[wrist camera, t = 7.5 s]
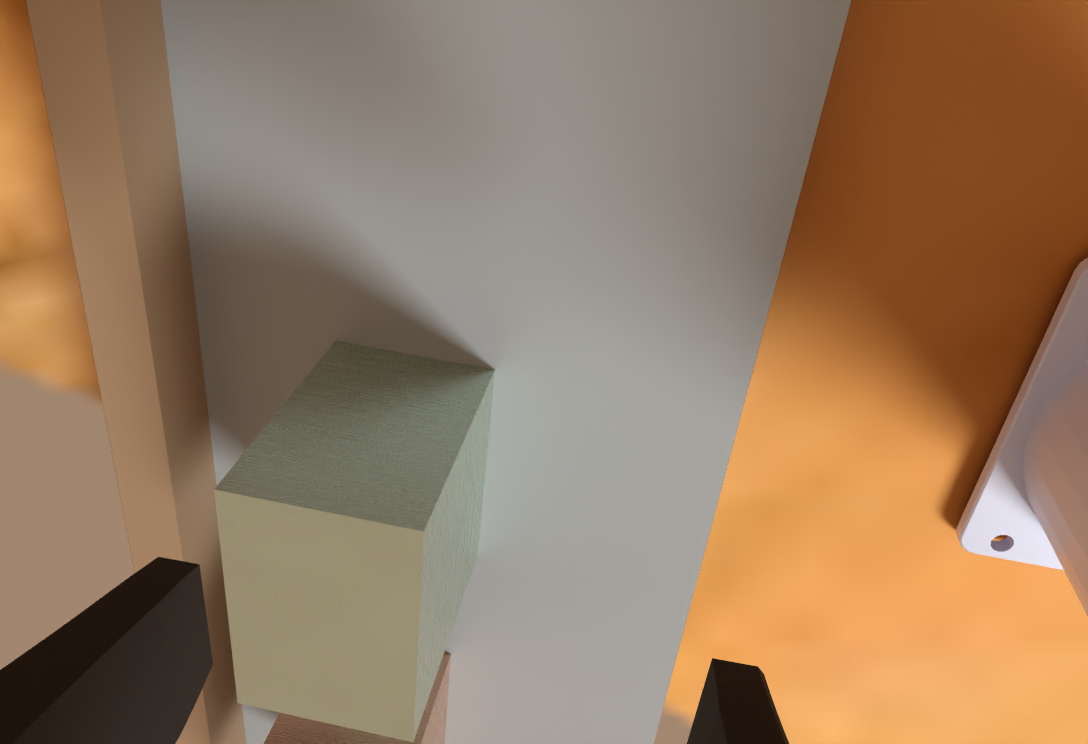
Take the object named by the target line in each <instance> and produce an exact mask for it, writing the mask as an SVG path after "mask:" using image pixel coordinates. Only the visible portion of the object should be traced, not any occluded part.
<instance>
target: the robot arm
mask: <svg viewBox="0 0 1088 744" xmlns="http://www.w3.org/2000/svg"><path fill="white" fill-rule="evenodd" d="M956 534H957V537H958V539H959V542H960V544H961V546H962V547H963V548H964V549H965V550H966V551H969V552H971V553H975V554H980V555H986V556H991V557H996V558H1002V559H1007V560H1012V561H1018V562H1023V563H1028V564H1034V565H1039V566H1044V567H1050V568H1055V569H1060V570H1064V571H1065V573H1066V575H1067V577H1068V579H1069V581H1070V583H1071V585H1072V587H1073V589H1074V591H1075V593H1076V595H1077V596H1078V598H1079V600H1080V602H1081V604H1082V606H1083V608H1084V610H1085V612H1086V614H1087V616H1088V257H1087V258H1086V259H1085V260H1083V261H1082V262H1081V263H1079V265H1078V266H1077V268H1076V269H1075V270H1074V272H1073V274H1072V277H1071V279H1070V281H1069V283H1068V285H1067V288H1066V290H1065V292H1064V294H1063V296H1062V298H1061V301H1060V303H1059V305H1058V307H1057V309H1056V312H1055V314H1054V316H1053V318H1052V320H1051V323H1050V325H1049V327H1048V329H1047V331H1046V333H1045V336H1044V338H1043V340H1042V342H1041V344H1040V347H1039V349H1038V351H1037V353H1036V355H1035V357H1034V360H1033V362H1032V364H1031V366H1030V368H1029V371H1028V373H1027V375H1026V377H1025V379H1024V381H1023V384H1022V386H1021V388H1020V390H1019V392H1018V395H1017V397H1016V399H1015V401H1014V403H1013V405H1012V408H1011V410H1010V412H1009V414H1008V416H1007V419H1006V421H1005V423H1004V425H1003V427H1002V430H1001V432H1000V434H999V436H998V438H997V440H996V443H995V445H994V447H993V449H992V451H991V454H990V456H989V458H988V460H987V462H986V464H985V467H984V469H983V471H982V473H981V475H980V478H979V480H978V482H977V484H976V486H975V488H974V491H973V493H972V495H971V497H970V499H969V502H968V504H967V506H966V508H965V510H964V513H963V515H962V517H961V519H960V521H959V523H958V526H957V530H956ZM999 535H1007V537H1006V538H1005V539H1003V540H1000V541H993V538H994V537H997V536H999ZM212 666H213V659H212V652H211V645H210V637H209V630H208V623H207V615H206V608H205V601H204V593H203V586H202V579H201V571H200V564H195V563H190V562H185V561H179V560H174V559H168V558H163V557H157V558H156V559H154V560H153V561H151V562H150V563H149V564H147V565H146V566H144V567H143V568H142V569H140V570H139V571H137V572H136V573H135V574H133V575H132V576H130V577H129V578H128V579H126V580H125V581H124V582H122V583H121V584H120V585H118V586H117V587H115V588H114V589H113V590H111V591H110V592H109V593H107V594H106V595H104V596H103V597H102V598H100V599H99V600H98V601H96V602H95V603H94V604H92V605H91V606H90V607H88V608H87V609H86V610H84V611H83V612H81V613H80V614H79V615H77V616H76V617H75V618H73V619H72V620H70V621H69V622H68V623H66V624H65V625H64V626H62V627H61V628H59V629H58V630H57V631H55V632H54V633H53V634H51V635H50V636H48V637H47V638H45V639H44V640H42V641H41V642H40V643H38V644H37V645H35V646H34V647H32V648H31V649H30V650H28V651H27V652H25V653H24V654H23V655H21V656H20V657H18V658H17V659H15V660H14V661H13V662H11V663H10V664H8V665H7V666H5V667H4V668H2V669H1V670H0V744H175V743H176V742H177V740H178V738H179V737H180V735H181V733H182V731H183V729H184V727H185V725H186V723H187V721H188V718H189V716H190V714H191V712H192V710H193V708H194V706H195V704H196V702H197V699H198V697H199V695H200V693H201V690H202V688H203V686H204V684H205V681H206V679H207V677H208V675H209V672H210V670H211V668H212ZM687 744H789V742H788V740H787V737H786V735H785V732H784V730H783V727H782V724H781V722H780V719H779V716H778V714H777V711H776V708H775V706H774V703H773V700H772V697H771V694H770V691H769V688H768V685H767V682H766V679H765V676H764V674H763V673H762V671H761V670H760V669H759V667H757V666H751V665H746V664H740V663H735V662H729V661H724V660H719V659H713V658H712V661H711V665H710V668H709V671H708V675H707V678H706V681H705V685H704V688H703V691H702V695H701V698H700V701H699V705H698V708H697V712H696V715H695V718H694V722H693V725H692V728H691V732H690V735H689V739H688V742H687Z"/></svg>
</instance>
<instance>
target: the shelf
mask: <svg viewBox="0 0 1088 744" xmlns="http://www.w3.org/2000/svg"><path fill="white" fill-rule="evenodd" d="M26 3H27V9H28V14H29V19H30V25H31V30H32V35H33V40H34V46H35V51H36V56H37V61H38V67H39V72H40V77H41V82H42V88H43V93H44V98H45V104H46V109H47V114H48V119H49V125H50V130H51V135H52V140H53V146H54V151H55V156H56V161H57V167H58V172H59V177H60V182H61V188H62V193H63V198H64V204H65V209H66V214H67V219H68V225H69V230H70V235H71V240H72V246H73V251H74V256H75V261H76V267H77V272H78V277H79V282H80V288H81V293H82V298H83V304H84V309H85V314H86V319H87V325H88V330H89V335H90V340H91V346H92V351H93V356H94V361H95V367H96V372H97V377H98V383H99V388H100V393H101V398H102V404H103V409H104V414H105V419H106V425H107V430H108V434H109V440H110V445H111V450H112V456H113V461H114V467H115V472H116V477H117V482H118V487H119V493H120V498H121V504H122V509H123V514H124V519H125V524H126V529H127V535H128V540H129V546H130V551H131V556H132V561H133V567H134V572H135V573H136V572H137V571H139V570H140V569H142V568H143V567H144V566H146V565H147V564H149V563H150V562H151V561H153V560H154V559H156V558H157V557H163V558H168V559H174V560H179V561H185V562H190V563H195V564H200V571H201V579H202V586H203V593H204V601H205V608H206V615H207V623H208V630H209V637H210V645H211V652H212V659H213V666H212V668H211V670H210V672H209V675H208V677H207V679H206V681H205V684H204V686H203V688H202V690H201V693H200V695H199V697H198V699H197V702H196V704H195V706H194V708H193V710H192V712H191V714H190V716H189V718H188V721H187V723H186V725H185V727H184V729H183V731H182V733H181V735H180V737H179V738H178V740H177V742H176V743H175V744H264V742H265V740H266V738H267V736H268V734H269V732H270V730H271V728H272V726H273V724H274V722H275V721H276V719H277V717H278V715H279V713H280V712H275V711H271V710H266V709H262V708H257V707H253V706H248V705H244V704H239V703H238V702H237V693H236V684H235V675H234V666H233V657H232V648H231V639H230V630H229V621H228V612H227V603H226V594H225V585H224V576H223V567H222V558H221V549H220V540H219V531H218V522H217V513H216V504H215V495H214V489H215V488H216V486H217V485H218V484H219V483H220V481H221V480H222V479H223V478H224V477H225V475H226V474H227V473H228V472H229V470H230V469H231V468H232V467H233V466H234V464H235V463H236V462H237V461H238V459H239V458H240V457H241V456H242V454H243V453H244V452H245V451H246V450H247V448H248V447H249V446H250V445H251V443H252V442H253V441H254V440H255V439H256V437H257V436H258V435H259V434H260V432H261V431H262V430H263V429H264V428H265V426H266V425H267V424H268V423H269V421H270V420H271V419H272V418H273V417H274V415H275V414H276V413H277V412H278V410H279V409H280V408H281V407H282V406H283V404H284V403H285V402H286V401H287V399H288V398H289V397H290V396H291V395H292V393H293V392H294V391H295V390H296V388H297V387H298V386H299V385H300V384H301V382H302V381H303V380H304V379H305V377H306V376H307V375H308V374H309V373H310V371H311V370H312V369H313V368H314V366H315V365H316V364H317V363H318V362H319V360H320V359H321V358H322V357H323V355H324V354H325V353H326V352H327V351H328V349H329V348H330V347H331V346H332V344H333V343H334V342H335V341H341V342H346V343H352V344H357V345H363V346H368V347H374V348H379V349H385V350H390V351H396V352H401V353H407V354H412V355H418V356H423V357H429V358H434V359H440V360H445V361H450V362H456V363H461V364H467V365H472V366H478V367H483V368H489V369H494V370H495V377H494V388H493V398H492V409H491V419H490V430H489V441H488V451H487V462H486V472H485V483H484V494H483V504H482V515H481V525H480V536H479V547H478V556H477V559H476V562H475V565H474V568H473V570H472V573H471V576H470V579H469V582H468V585H467V588H466V591H465V594H464V597H463V599H462V602H461V605H460V608H459V611H458V614H457V617H456V620H455V623H454V626H453V628H452V631H451V634H450V637H449V640H448V643H447V646H446V649H445V652H444V653H449V654H451V662H450V676H449V690H448V704H447V718H446V733H445V744H654V740H655V736H656V732H657V728H658V725H659V721H660V717H661V714H662V710H663V706H664V702H665V699H666V695H667V691H668V687H669V684H670V680H671V676H672V672H673V669H674V665H675V661H676V657H677V654H678V650H679V646H680V642H681V639H682V635H683V631H684V627H685V624H686V620H687V616H688V612H689V609H690V605H691V601H692V597H693V594H694V590H695V586H696V582H697V579H698V575H699V571H700V567H701V563H702V560H703V556H704V552H705V548H706V545H707V541H708V537H709V533H710V530H711V526H712V522H713V518H714V515H715V511H716V507H717V503H718V500H719V496H720V492H721V488H722V485H723V481H724V477H725V473H726V470H727V466H728V462H729V458H730V455H731V451H732V447H733V443H734V440H735V436H736V432H737V428H738V425H739V421H740V417H741V413H742V410H743V406H744V402H745V398H746V395H747V391H748V387H749V383H750V380H751V376H752V372H753V368H754V365H755V361H756V357H757V353H758V350H759V346H760V342H761V338H762V335H763V331H764V327H765V323H766V319H767V316H768V312H769V308H770V304H771V301H772V297H773V293H774V289H775V286H776V282H777V278H778V274H779V271H780V267H781V263H782V259H783V256H784V252H785V248H786V244H787V241H788V237H789V233H790V229H791V226H792V222H793V218H794V214H795V211H796V207H797V203H798V199H799V196H800V192H801V188H802V184H803V181H804V177H805V173H806V169H807V166H808V162H809V158H810V154H811V151H812V147H813V143H814V139H815V136H816V132H817V128H818V124H819V121H820V117H821V113H822V109H823V106H824V102H825V98H826V94H827V91H828V87H829V83H830V79H831V75H832V72H833V68H834V64H835V60H836V57H837V53H838V49H839V45H840V42H841V38H842V34H843V30H844V27H845V23H846V19H847V15H848V12H849V8H850V4H851V0H26Z"/></svg>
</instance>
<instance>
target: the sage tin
mask: <svg viewBox="0 0 1088 744" xmlns="http://www.w3.org/2000/svg"><path fill="white" fill-rule="evenodd" d="M494 377H495V370H494V369H489V368H483V367H478V366H472V365H467V364H461V363H456V362H450V361H445V360H440V359H434V358H429V357H423V356H418V355H412V354H407V353H401V352H396V351H390V350H385V349H379V348H374V347H368V346H363V345H357V344H352V343H346V342H341V341H335V342H334V343H333V344H332V346H331V347H330V348H329V349H328V351H327V352H326V353H325V354H324V355H323V357H322V358H321V359H320V360H319V362H318V363H317V364H316V365H315V366H314V368H313V369H312V370H311V371H310V373H309V374H308V375H307V376H306V377H305V379H304V380H303V381H302V382H301V384H300V385H299V386H298V387H297V388H296V390H295V391H294V392H293V393H292V395H291V396H290V397H289V398H288V399H287V401H286V402H285V403H284V404H283V406H282V407H281V408H280V409H279V410H278V412H277V413H276V414H275V415H274V417H273V418H272V419H271V420H270V421H269V423H268V424H267V425H266V426H265V428H264V429H263V430H262V431H261V432H260V434H259V435H258V436H257V437H256V439H255V440H254V441H253V442H252V443H251V445H250V446H249V447H248V448H247V450H246V451H245V452H244V453H243V454H242V456H241V457H240V458H239V459H238V461H237V462H236V463H235V464H234V466H233V467H232V468H231V469H230V470H229V472H228V473H227V474H226V475H225V477H224V478H223V479H222V480H221V481H220V483H219V484H218V485H217V486H216V488H215V489H214V495H215V504H216V513H217V522H218V531H219V540H220V549H221V558H222V567H223V576H224V585H225V594H226V603H227V612H228V621H229V630H230V639H231V648H232V657H233V666H234V675H235V684H236V693H237V702H238V703H239V704H244V705H248V706H253V707H257V708H262V709H266V710H271V711H275V712H280V713H284V714H289V715H293V716H298V717H302V718H307V719H311V720H315V721H320V722H324V723H329V724H333V725H338V726H342V727H347V728H351V729H356V730H360V731H365V732H369V733H374V734H378V735H383V736H387V737H391V738H396V739H400V740H405V741H409V742H414V739H415V736H416V733H417V730H418V727H419V724H420V721H421V718H422V715H423V713H424V710H425V707H426V704H427V701H428V698H429V695H430V692H431V689H432V686H433V684H434V681H435V678H436V675H437V672H438V669H439V666H440V663H441V660H442V657H443V655H444V652H445V649H446V646H447V643H448V640H449V637H450V634H451V631H452V628H453V626H454V623H455V620H456V617H457V614H458V611H459V608H460V605H461V602H462V599H463V597H464V594H465V591H466V588H467V585H468V582H469V579H470V576H471V573H472V570H473V568H474V565H475V562H476V559H477V556H478V547H479V536H480V525H481V515H482V504H483V494H484V483H485V472H486V462H487V451H488V441H489V430H490V419H491V409H492V398H493V388H494Z"/></svg>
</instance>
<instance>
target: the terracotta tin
mask: <svg viewBox="0 0 1088 744" xmlns="http://www.w3.org/2000/svg"><path fill="white" fill-rule="evenodd" d="M450 662H451V654H449V653H444V655H443V657H442V660H441V663H440V666H439V669H438V672H437V675H436V678H435V681H434V684H433V686H432V689H431V692H430V695H429V698H428V701H427V704H426V707H425V710H424V713H423V715H422V718H421V721H420V724H419V727H418V730H417V733H416V736H415V739H414V742H409V741H405V740H400V739H396V738H391V737H387V736H383V735H378V734H374V733H369V732H365V731H360V730H356V729H351V728H347V727H342V726H338V725H333V724H329V723H324V722H320V721H315V720H311V719H307V718H302V717H298V716H293V715H289V714H284V713H279V715H278V717H277V719H276V721H275V722H274V724H273V726H272V728H271V730H270V732H269V734H268V736H267V738H266V740H265V742H264V744H445V733H446V718H447V704H448V690H449V676H450Z"/></svg>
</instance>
